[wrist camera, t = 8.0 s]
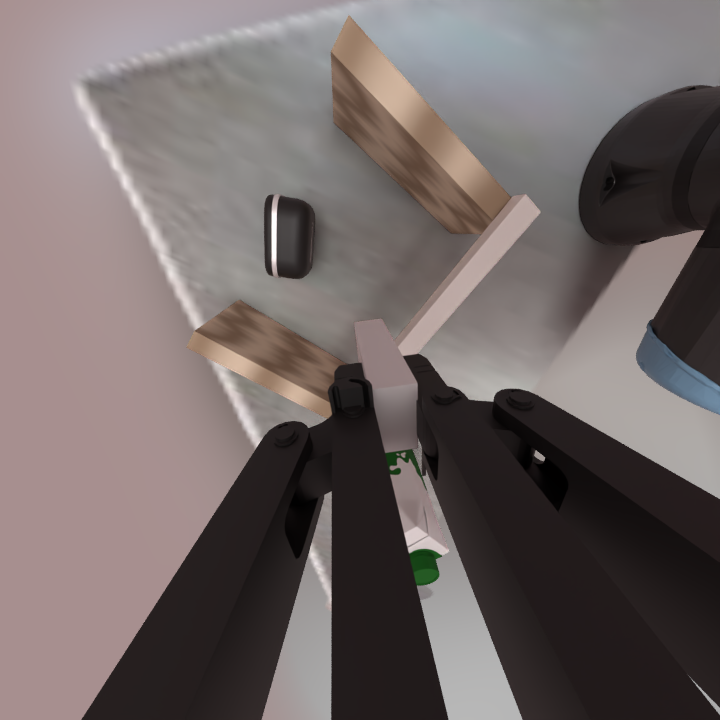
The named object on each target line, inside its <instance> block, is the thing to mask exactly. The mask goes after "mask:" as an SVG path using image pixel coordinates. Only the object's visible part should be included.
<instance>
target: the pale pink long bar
mask: <svg viewBox="0 0 720 720" xmlns="http://www.w3.org/2000/svg"><path fill="white" fill-rule="evenodd" d="M540 213H541V211H540V210H539V209H538V208H537V207H536V205H535V204H534V203H533V202H532V201H531V200H530V198H529V197H528V196H527V195H526V194H522V195H517V196H513V197H512V198H511V199H510V200H509V201H508V203H507V204H506V205H505V206H504V208H503V209H502V210H501V211H500V212H499V214H498V215H497V216H496V217H495V219H494V220H493V221H492V222H491V223H490V225H489V226H488V227H487V228H486V230H485V231H484V232H483V233H482V234H481V236H480V237H479V238H478V239H477V240H476V242H475V243H474V244H473V245H472V247H471V248H470V249H469V250H468V251H467V253H466V254H465V255H464V256H463V258H462V259H461V260H460V261H459V262H458V264H457V265H456V266H455V267H454V269H453V270H452V271H451V272H450V273H449V275H448V276H447V277H446V278H445V280H444V281H443V282H442V283H441V284H440V286H439V287H438V288H437V289H436V290H435V292H434V293H433V294H432V295H431V297H430V298H429V299H428V300H427V301H426V303H425V304H424V305H423V306H422V308H421V309H420V310H419V311H418V312H417V314H416V315H415V316H414V317H413V319H412V320H411V321H410V322H409V323H408V325H407V326H406V327H405V328H404V330H403V331H402V332H401V333H400V334H399V336H398V337H397V338H396V339H395V340H394V341H395V343H396V345H397V347H398V349H399V350H400V352H401V354H402V356H406V355H413V354H417V353H418V352H419V351H420V350H421V349H422V348H423V346H424V345H425V344H426V343H427V342H428V341H429V340H430V338H431V337H432V336H433V335H434V334H435V333H436V332H437V330H438V329H439V328H440V327H441V326H442V325H443V324H444V322H445V321H446V320H447V319H448V318H449V317H450V316H451V314H452V313H453V312H454V311H455V310H456V309H457V308H458V306H459V305H460V304H461V303H462V302H463V301H464V300H465V298H466V297H467V296H468V295H469V294H470V293H471V292H472V290H473V289H474V288H475V287H476V286H477V285H478V284H479V282H480V281H481V280H482V279H483V278H484V277H485V276H486V274H487V273H488V272H489V271H490V270H491V269H492V268H493V266H494V265H495V264H496V263H497V262H498V261H499V260H500V259H501V257H502V256H503V255H504V254H505V253H506V252H507V251H508V249H509V248H510V247H511V246H512V245H513V244H514V243H515V241H516V240H517V239H518V238H519V237H520V236H521V235H522V233H523V232H524V231H525V230H526V229H527V228H528V227H529V225H530V224H531V223H532V222H533V221H534V220H535V219H536V217H537V216H538V215H539V214H540Z"/></svg>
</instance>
